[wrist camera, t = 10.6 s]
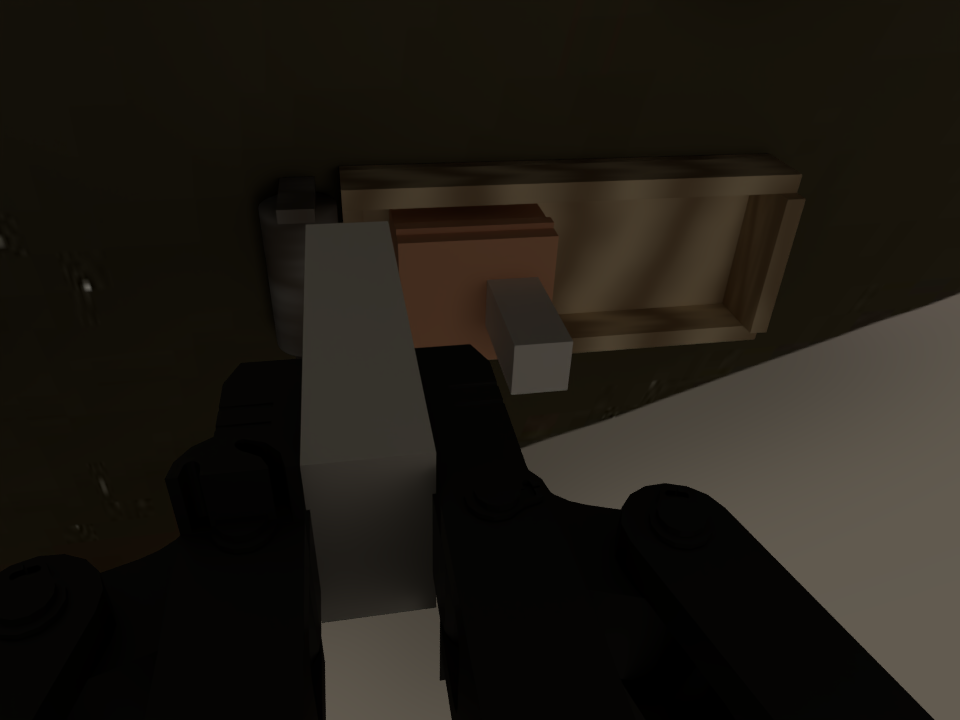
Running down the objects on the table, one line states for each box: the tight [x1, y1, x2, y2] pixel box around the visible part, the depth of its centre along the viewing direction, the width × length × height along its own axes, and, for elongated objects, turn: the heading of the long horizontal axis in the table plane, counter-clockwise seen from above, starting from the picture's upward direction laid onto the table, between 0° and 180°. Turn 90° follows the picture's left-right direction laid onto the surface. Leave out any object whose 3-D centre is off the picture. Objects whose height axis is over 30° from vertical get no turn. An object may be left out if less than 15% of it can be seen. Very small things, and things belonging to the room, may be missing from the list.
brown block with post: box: [389, 203, 573, 395], centre depth 42 cm, size 9×9×13 cm
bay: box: [258, 154, 806, 360], centre depth 46 cm, size 33×12×5 cm, turn 89°
